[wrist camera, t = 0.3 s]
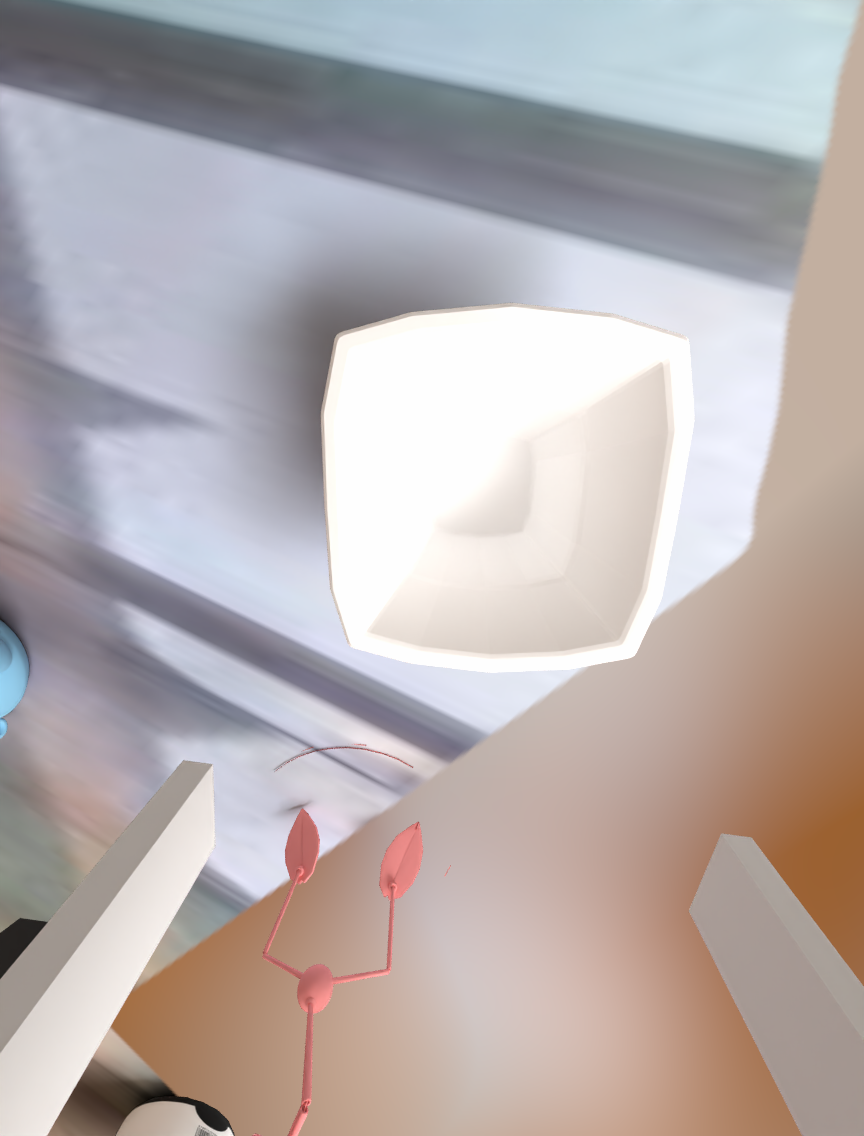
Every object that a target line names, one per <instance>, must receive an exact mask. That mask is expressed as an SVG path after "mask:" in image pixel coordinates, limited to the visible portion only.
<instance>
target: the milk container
mask: <svg viewBox="0 0 864 1136" xmlns="http://www.w3.org/2000/svg"><path fill="white" fill-rule="evenodd" d="M115 1136H235V1135H234V1132H233V1130H232V1128H231V1126H230V1123H229V1121H228V1120H227V1119H226V1118H225V1117H224V1116H223V1115H222V1114H221V1113H220V1112H219V1111H218V1110H216V1109H215V1108H213V1107H211V1106H209V1105H207V1104H205V1103H204V1102H201V1101H197V1100H193V1099H190V1098H188V1097H177V1096H164V1097H156V1098H152V1099H150V1100H148V1101H146V1102H144V1103H142V1104H140V1105H138V1106H137V1107H135V1108H134V1109H133V1111H132V1112H131V1113H130V1114H129V1115H128V1116H127V1117H126V1119H125V1120H124V1122H123V1123H122V1125H121V1127H120V1128H119V1130H118V1131H117V1133H116V1135H115Z"/></svg>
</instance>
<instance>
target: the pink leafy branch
mask: <svg viewBox="0 0 864 1136" xmlns="http://www.w3.org/2000/svg"><path fill="white" fill-rule="evenodd" d="M354 745H361V744H354ZM364 746H366V745H364ZM311 748H313V747H311ZM338 748H352V747H338ZM308 749H310V748H308ZM327 749H336V748H327ZM352 749H362V748H352ZM306 750H307V749H306ZM321 750H326V749H321ZM321 750H316V751H321ZM362 750H368V749H362ZM303 751H304V750H303ZM368 751H372V750H368ZM312 752H315V751H312ZM312 752H309V753H312ZM372 752H377V751H372ZM309 753H306V754H309ZM377 753H381V752H377ZM306 754H303V755H306ZM381 754H384V753H381ZM303 755H300V756H303ZM384 755H387V754H384ZM300 756H298V757H300ZM387 756H389V755H387ZM298 757H296V758H298ZM389 757H392V756H389ZM296 758H295V759H296ZM392 758H394V759H397V758H395V757H392ZM293 760H294V759H293ZM397 760H399V759H397ZM291 761H292V760H291ZM399 761H401V760H399ZM289 762H290V761H289ZM401 762H403V761H401ZM287 763H288V762H287ZM403 763H405V762H403ZM285 764H286V763H285ZM285 764H284V765H285ZM405 764H406V765H408V764H407V763H405ZM408 766H410V765H408ZM281 767H282V766H281ZM281 767H280V768H281ZM410 767H412V766H410ZM412 768H413V767H412ZM277 770H278V769H277ZM277 770H276V771H277ZM418 823H419V822H417V823H415V824H413V825H411V826H410V827H408V828H407V829H406V830H404V831H403V832H402V833H400V834H399V835H397V836H396V837H395V839H394V840H393V842H392V843H391V845H390V846H389V847H388V849H387V850H386V853H385V856H384V859H383V861H382V864H381V873H380V883H379V886H380V888H381V891H382V893H383V895H384V897H386V896H388V898H389V900H390V917H389V935H388V937H389V938H388V954H387V969H385V970H378V971H373V972H366V973H360V974H354V975H348V976H341V977H335V978H333V976H332V973H331V971H330V970H329V968H328V967H326V966H324V965H322V964H317V965H313V966H311V967H309V968H308V969H307V970H306V971H305V972H304V973H302V972H300V971H298V970H296V969H294V968H292V967H290V966H288V965H287V964H285V963H283V962H280V961H279V960H277V959H275V958H273V957H272V956H270V955H268V954H267V953H268V950H269V948H270V945H271V943H272V940H273V938H274V936H275V933H276V931H277V928H278V926H279V923H280V921H281V919H282V916H283V914H284V912H285V909H286V907H287V904H288V902H289V900H290V897H291V895H292V892H293V890H294V887H295V885H296V883H298V884H301V883H302V881H303V883H305V882H306V881H307V880H308V878H309V877H310V876H311V875H312V874H313V872H314V869H315V865H316V861H317V858H318V854H319V844H320V839H319V835H318V831H317V827H316V825H315V824H314V822H313V820H312V819H311V817H310V816H309V814H308V813H307V812H306V811H305V810H304V809H301V811H300V813H299V815H298V816H297V818H296V820H295V823H294V825H293V827H292V829H291V831H290V834H289V836H288V840H287V844H286V849H285V863H286V866H287V869H288V872H289V876H290V879H291V880H293V883H292V886H291V888H290V890H289V893H288V895H287V897H286V900H285V902H284V905H283V907H282V909H281V911H280V914H279V916H278V918H277V921H276V923H275V925H274V928H273V930H272V932H271V935H270V937H269V939H268V942H267V944H266V946H265V949H264V951H263V958H264V959H266V960H267V961H269V962H271V963H273V964H275V965H276V966H278V967H280V968H282V969H284V970H285V971H287V972H289V973H290V974H292V975H294V976H296V977H297V978H299V979H300V981H299V985H298V991H297V997H298V1002H299V1005H300V1007H301V1008H302V1009H303V1010H304V1011H305V1012H307V1013H308V1017H307V1030H306V1046H305V1060H304V1074H303V1088H302V1089H303V1090H302V1103H301V1107H300V1109H299V1111H298V1113H297V1116H296V1118H295V1120H294V1122H293V1125H292V1127H291V1129H290V1131H289V1134H288V1136H297V1135H298V1133H299V1131H300V1129H301V1127H302V1125H303V1122H304V1120H305V1118H306V1116H307V1114H308V1108H307V1106H309V1105H310V1103H311V1088H312V1045H313V1044H312V1043H313V1040H312V1039H313V1014H314V1013H317V1012H319V1011H321V1010H322V1009H324V1008H325V1006H326V1005H327V1004H328V1002H329V1000H330V998H331V995H332V991H333V984H338V983H344V982H349V981H354V980H360V979H365V978H371V977H376V976H381V975H387V974H389V971H390V970H391V960H392V938H393V918H394V916H393V915H394V899H397V898H400V897H401V896H402V895H403V894H404V893H405V892H406V891H407V889H408V888H409V887H410V886H411V885H412V884H413V882H414V880H415V878H416V875H417V874H418V872H419V870H420V864H421V859H422V854H423V846H422V836H421V829H420V824H418ZM417 826H418V827H417ZM416 829H417V830H416ZM449 868H450V867H449ZM446 874H447V873H446ZM252 1136H261V1135H259V1134H256V1133H255V1134H254V1135H252Z"/></svg>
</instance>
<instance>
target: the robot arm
mask: <svg viewBox="0 0 864 1136" xmlns="http://www.w3.org/2000/svg"><path fill="white" fill-rule="evenodd" d="M214 847H215V817H214V785H213V764H206V763H199V762H192V761H184V760H183V761H182V763H181V764H180V765H179V766H178V767H177V769H176V770H175V771H174V772H173V773H172V775H171V776H170V777H169V778H168V779H167V781H166V782H165V783H164V784H163V785H162V787H161V788H160V789H159V790H158V791H157V793H156V794H155V795H154V796H153V797H152V798H151V800H150V801H149V802H148V803H147V804H146V806H145V807H144V808H143V809H142V810H141V812H140V813H139V814H138V815H137V816H136V818H135V819H134V820H133V821H132V822H131V824H130V825H129V826H128V827H127V828H126V830H125V831H124V832H123V833H122V834H121V836H120V837H119V838H118V839H117V840H116V842H115V843H114V844H113V845H112V846H111V847H110V849H109V850H108V851H107V852H106V853H105V855H104V856H103V857H102V858H101V859H100V861H99V862H98V863H97V864H96V865H95V867H94V868H93V869H92V870H91V871H90V873H89V874H88V875H87V876H86V877H85V879H84V880H83V881H82V882H81V883H80V885H79V886H78V887H77V888H76V889H75V891H74V892H73V893H72V894H71V895H70V896H69V898H68V899H67V900H66V901H65V902H64V904H63V905H62V906H61V907H60V908H59V910H58V911H57V912H56V913H55V914H54V916H53V917H52V918H51V919H50V920H49V922H44V921H37V920H30V919H22V918H20V919H18V920H17V921H16V922H14V923H13V924H12V925H10V926H9V927H8V928H6V929H5V930H4V931H2V932H1V933H0V1136H47V1134H48V1133H49V1131H50V1129H51V1128H52V1126H53V1124H54V1122H55V1121H56V1119H57V1117H58V1115H59V1114H60V1112H61V1110H62V1109H63V1107H64V1105H65V1103H66V1102H67V1100H68V1098H69V1097H70V1095H71V1093H72V1091H73V1090H74V1088H75V1086H76V1085H77V1083H78V1081H79V1079H80V1078H81V1076H82V1074H83V1073H84V1071H85V1069H86V1067H87V1066H88V1064H89V1062H90V1060H91V1059H92V1057H93V1055H94V1054H95V1052H96V1050H97V1048H98V1047H99V1045H100V1043H101V1042H102V1040H103V1038H104V1036H105V1035H106V1033H107V1031H108V1030H109V1028H110V1026H111V1024H112V1023H113V1021H114V1019H115V1017H116V1016H117V1014H118V1012H119V1010H120V1009H121V1007H122V1005H123V1004H124V1002H125V1000H126V999H127V997H128V995H129V993H130V992H131V990H132V988H133V987H134V985H135V983H136V981H137V980H138V978H139V976H140V975H141V973H142V971H143V969H144V968H145V966H146V964H147V963H148V961H149V959H150V957H151V956H152V954H153V952H154V950H155V949H156V947H157V945H158V944H159V942H160V940H161V938H162V937H163V935H164V933H165V932H166V930H167V928H168V926H169V925H170V923H171V921H172V920H173V918H174V916H175V914H176V913H177V911H178V909H179V908H180V906H181V904H182V902H183V901H184V899H185V897H186V895H187V894H188V892H189V890H190V889H191V887H192V885H193V883H194V882H195V880H196V878H197V877H198V875H199V873H200V871H201V870H202V868H203V866H204V865H205V863H206V861H207V859H208V858H209V856H210V854H211V853H212V851H213V849H214ZM689 912H690V914H691V916H692V918H693V920H694V922H695V924H696V926H697V928H698V929H699V932H700V934H701V936H702V937H703V940H704V942H705V944H706V946H707V947H708V949H709V952H710V953H711V955H712V957H713V959H714V961H715V963H716V965H717V967H718V969H719V971H720V973H721V975H722V977H723V979H724V981H725V983H726V985H727V987H728V989H729V991H730V993H731V995H732V997H733V999H734V1001H735V1003H736V1005H737V1007H738V1009H739V1011H740V1013H741V1015H742V1017H743V1019H744V1021H745V1023H746V1025H747V1027H748V1029H749V1031H750V1033H751V1035H752V1037H753V1039H754V1041H755V1043H756V1045H757V1047H758V1049H759V1051H760V1053H761V1055H762V1057H763V1059H764V1061H765V1063H766V1064H767V1067H768V1068H769V1070H770V1073H771V1074H772V1076H773V1078H774V1080H775V1082H776V1084H777V1086H778V1088H779V1090H780V1092H781V1094H782V1096H783V1098H784V1100H785V1102H786V1104H787V1106H788V1108H789V1110H790V1112H791V1114H792V1116H793V1118H794V1120H795V1122H796V1124H797V1126H798V1128H799V1130H800V1132H801V1134H802V1136H864V987H863V985H862V984H861V983H860V982H859V980H858V979H857V977H856V976H855V975H854V973H853V972H852V971H851V969H850V968H849V967H848V965H847V964H846V963H845V961H844V960H843V959H842V957H841V956H840V955H839V954H838V952H837V951H836V950H835V948H834V947H833V945H832V944H831V943H830V942H829V940H828V939H827V937H826V936H825V935H824V933H823V932H822V931H821V930H820V928H819V927H818V926H817V924H816V923H815V922H814V920H813V919H812V918H811V916H810V915H809V914H808V912H807V911H806V910H805V908H804V907H803V906H802V904H801V903H800V902H799V900H798V899H797V898H796V896H795V895H794V894H793V892H792V891H791V890H790V888H789V887H788V886H787V884H786V883H785V882H784V880H783V879H782V878H781V876H780V875H779V874H778V872H777V871H776V870H775V868H774V867H773V866H772V864H771V863H770V862H769V861H768V859H767V858H766V856H765V855H764V854H763V853H762V851H761V850H760V849H759V847H758V846H757V845H756V843H755V842H754V841H753V839H752V838H750V837H743V836H735V835H728V834H721V836H720V838H719V841H718V843H717V845H716V848H715V850H714V853H713V855H712V857H711V860H710V862H709V864H708V867H707V869H706V871H705V874H704V877H703V879H702V881H701V883H700V886H699V888H698V891H697V893H696V895H695V898H694V900H693V902H692V905H691V907H690V910H689Z"/></svg>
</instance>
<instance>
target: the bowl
mask: <svg viewBox="0 0 864 1136" xmlns="http://www.w3.org/2000/svg"><path fill="white" fill-rule="evenodd" d="M693 424H694V406H693V391H692V376H691V361H690V346H689V340H688V338H687V337H685V336H684V335H681V334H678V333H675V332H671V331H668V330H665V329H661V328H658V327H655V326H652V325H648V324H645V323H642V322H639V321H635V320H632V319H629V318H626V317H622V316H619V315H616V314H611V313H602V312H593V311H583V310H574V309H565V308H555V307H546V306H537V305H527V304H518V303H505V304H494V305H483V306H472V307H461V308H450V309H439V310H429V311H418V312H409V313H406V314H402V315H399V316H395V317H392V318H388V319H385V320H381V321H378V322H374V323H371V324H367V325H364V326H360V327H357V328H353V329H350V330H346V331H343V332H340V333H338V334H337V335H336V337H335V339H334V345H333V350H332V355H331V361H330V366H329V371H328V377H327V382H326V387H325V393H324V398H323V403H322V409H321V434H322V458H323V483H324V507H325V522H326V536H327V551H328V565H329V580H330V590H331V593H332V596H333V599H334V602H335V605H336V609H337V612H338V615H339V618H340V621H341V624H342V627H343V630H344V633H345V636H346V640H347V643H348V644H349V646H350V647H352V648H355V649H359V650H363V651H366V652H370V653H374V654H377V655H381V656H385V657H389V658H392V659H396V660H400V661H403V662H407V663H412V664H421V665H429V666H438V667H447V668H455V669H464V670H472V671H481V672H511V671H536V670H562V669H573V668H578V667H584V666H589V665H594V664H600V663H605V662H611V661H616V660H621V659H627V658H631V657H633V656H634V655H635V654H636V652H637V650H638V648H639V646H640V643H641V641H642V639H643V637H644V635H645V633H646V631H647V629H648V626H649V624H650V622H651V620H652V618H653V616H654V614H655V612H656V609H657V607H658V605H659V603H660V601H661V598H662V593H663V588H664V583H665V578H666V573H667V568H668V563H669V558H670V553H671V548H672V543H673V538H674V533H675V528H676V523H677V518H678V513H679V507H680V501H681V495H682V489H683V483H684V477H685V471H686V466H687V460H688V454H689V448H690V442H691V436H692V430H693Z"/></svg>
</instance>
